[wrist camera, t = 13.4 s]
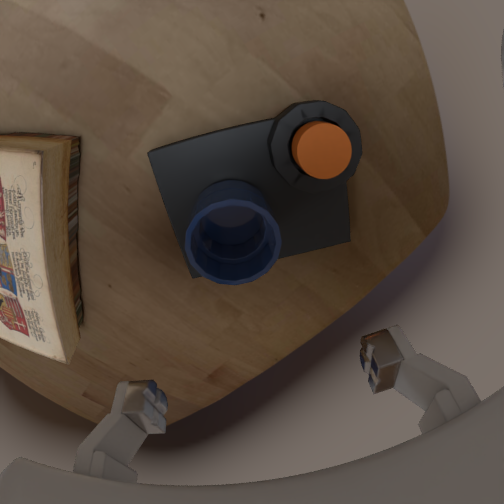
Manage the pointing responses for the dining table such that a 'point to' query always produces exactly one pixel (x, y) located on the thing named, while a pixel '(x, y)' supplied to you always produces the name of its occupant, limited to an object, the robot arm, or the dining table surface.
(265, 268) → the cup
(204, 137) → the scale
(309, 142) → the button
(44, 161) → the book
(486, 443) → the robot arm
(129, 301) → the dining table surface
